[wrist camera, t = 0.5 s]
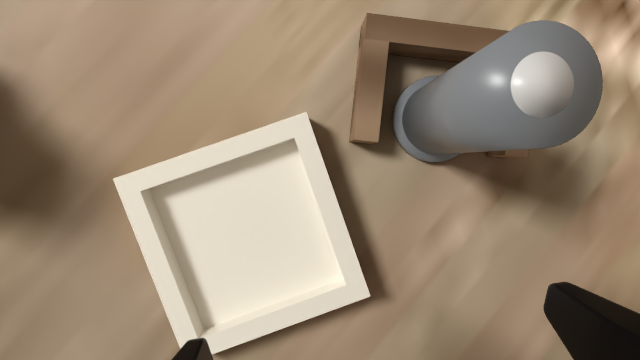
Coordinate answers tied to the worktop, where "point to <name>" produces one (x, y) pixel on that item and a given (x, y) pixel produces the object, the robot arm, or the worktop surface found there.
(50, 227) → the worktop surface
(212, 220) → the dish
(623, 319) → the robot arm
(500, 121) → the grey rounded upright piece
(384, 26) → the socket
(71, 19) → the worktop surface
